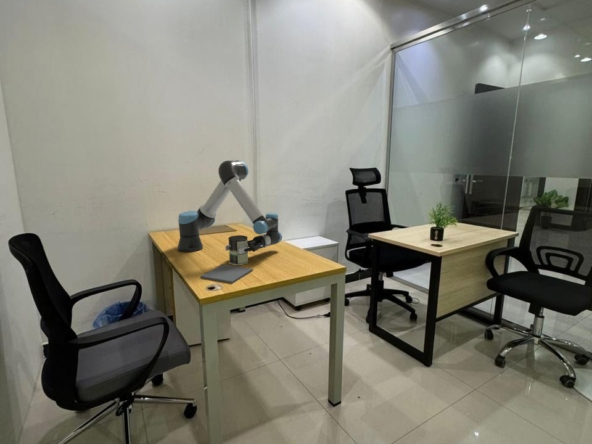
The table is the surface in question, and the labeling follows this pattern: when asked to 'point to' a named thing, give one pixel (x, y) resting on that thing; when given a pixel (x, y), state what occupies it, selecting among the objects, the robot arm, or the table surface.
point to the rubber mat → (226, 273)
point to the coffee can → (237, 250)
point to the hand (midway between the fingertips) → (232, 249)
